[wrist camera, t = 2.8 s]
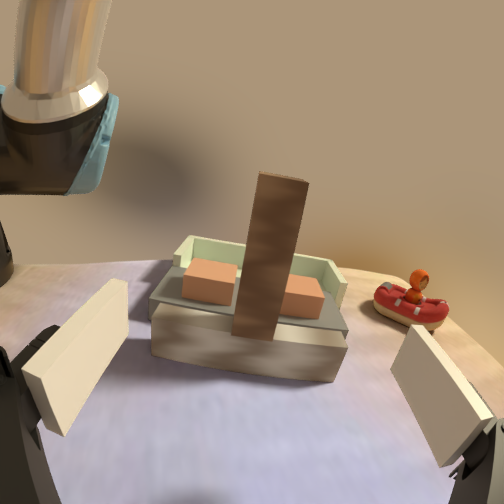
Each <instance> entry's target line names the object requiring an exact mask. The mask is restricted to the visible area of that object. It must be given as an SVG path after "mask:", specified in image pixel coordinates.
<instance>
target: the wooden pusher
mask: <svg viewBox="0 0 504 504" xmlns="http://www.w3.org/2000/svg"><path fill="white" fill-rule="evenodd" d="M308 186H309V183H308V182H306V181H304V180H302V179H298V178H293V177H288V176H283V175H278V174H272V173H267V172H261V171H259V176H258V181H257V187H256V193H255V198H254V204H253V209H252V215H251V220H250V226H249V232H248V237H247V243H246V248H245V254H244V260H243V266H242V271H241V277H240V283H239V289H238V294H237V300H236V306H235V312H234V317H232V316H226V315H221V314H215V313H210V312H204V311H199V310H194V309H188V308H183V307H178V306H173V305H169V304H164V303H160V304H159V306H158V307H157V309H156V310H155V312H154V314H153V315H152V317H151V355H152V356H157V357H161V358H165V359H170V360H174V361H179V362H183V363H188V364H193V365H198V366H204V367H209V368H215V369H220V370H226V371H233V372H239V373H246V374H253V375H260V376H268V377H277V378H286V379H296V380H308V381H321V382H334V380H335V377H336V375H337V373H338V371H339V368H340V366H341V364H342V361H343V359H344V356H345V354H346V352H347V349H348V346H347V344H346V341H345V339H344V337H343V334H342V332H341V331H332V330H323V329H315V328H307V327H299V326H291V325H284V324H277V322H278V318H279V314H280V310H281V306H282V302H283V298H284V294H285V290H286V286H287V281H288V277H289V273H290V269H291V264H292V260H293V256H294V251H295V247H296V242H297V238H298V233H299V229H300V224H301V220H302V215H303V210H304V205H305V200H306V196H307V191H308Z"/></svg>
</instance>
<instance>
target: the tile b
mask: <svg viewBox="0 0 504 504" xmlns="http://www.w3.org/2000/svg"><path fill="white" fill-rule="evenodd" d="M324 300H325V297H324V294H323V292H322V290H321V288H320V285H319V283H318V281H317V279H316V278H312V277H305V276H299V275H293V274H289V277H288V281H287V286H286V290H285V294H284V298H283V302H282V306H281V310H280V314H283V315H290V316H297V317H304V318H312V319H319V316H320V313H321V310H322V306H323V303H324Z"/></svg>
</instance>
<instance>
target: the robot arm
mask: <svg viewBox="0 0 504 504" xmlns="http://www.w3.org/2000/svg"><path fill="white" fill-rule="evenodd" d="M111 3H112V0H19V7H18V14H17V23H16V33H15V34H16V35H15V51H14V79H13V80H12V82H11V83H10V84H9V85H8V87H7V88H6V87H5V86H3V85H0V195H63V196H67V195H69V194H86V193H90V192H92V191H93V190H95V189H96V188H97V186H98V185H99V182H100V180H101V177H102V173H103V169H104V166H105V162H106V157H107V153H108V149H109V141H110V139H111V135H112V132H113V128H114V124H115V120H116V115H117V110H118V105H119V98H118V97H117V96H115V95H113V94H111V93H108V94H107V92H108V85H109V84H108V78H107V76H106V75H105V74H104V73H103V72H102V71H101V70H100V69H99V68H98V67H97V64H98V59H99V54H100V49H101V43H102V39H103V34H104V30H105V26H106V22H107V18H108V14H109V11H110V7H111ZM12 273H13V260H12V253H11V249H10V247H9V246H8V242H7V239H6V237H5V234H4V230H3V228H2V225H1V222H0V287H1V286H2V285H4V284H5V283H6V282H7V281H8V280H9V279H10V277H11V275H12ZM127 283H128V282H127V281H123V280H118V279H114V278H112V279H111V280H110V281H108V282H107V283H106V284H105V285H104V286H103V287H102V288H101V289H100V290H99V291H98V292H97V293H96V294H94V295H93V296H92V297H91V298H90V299H89V300H88V301H87V302H86V303H85V304H84V305H83V306H82V307H81V308H80V309H79V310H78V311H77V312H76V313H75V314H74V315H73V316H72V317H71V318H69V319H68V320H67V321H66V322H65V323H64V324H63V325H62V326H61V327H60V326H57V325H53V326H50V327H48V328H46V329H44V330H43V331H42V332H41V333H40V334H39V335H37V336H36V337H35V339H33V340H32V341H31V342H30V343H29V346H28V345H27V346H26V347H25V348H24V349H23V350H22V351H21V352H20V353H19V354H18V355H17V356H16V357H15V358H14V359H13V361H12V362H11V363H10V362H9V359H8V356H7V353H6V351H5V349H4V348H3V347H1V346H0V504H62V503H61V501H60V498H59V496H58V493H57V490H56V488H55V485H54V482H53V479H52V476H51V473H50V470H49V466H48V463H47V460H46V456H45V453H44V449H43V445H42V441H41V437H40V433H39V429H38V427H37V423H38V422H39V420H40V419H42V421H43V423H44V425H45V427H46V429H48V430H50V431H52V432H55V433H57V434H59V435H61V436H63V437H65V435H66V434H67V432H68V430H69V428H70V427H71V425H72V423H73V422H74V420H75V418H76V416H77V415H78V413H79V411H80V410H81V408H82V406H83V405H84V403H85V401H86V400H87V398H88V397H89V395H90V393H91V392H92V390H93V388H94V387H95V385H96V384H97V382H98V380H99V379H100V377H101V376H102V374H103V372H104V371H105V369H106V368H107V366H108V365H109V363H110V361H111V360H112V358H113V357H114V355H115V354H116V352H117V351H118V349H119V348H120V346H121V345H122V343H123V342H124V340H125V339H126V337H127V336H128V334H129V329H128V286H127ZM390 370H391V372H392V374H393V375H394V377H395V379H396V381H397V383H398V385H399V387H400V388H401V390H402V392H403V394H404V396H405V398H406V400H407V402H408V404H409V406H410V408H411V410H412V412H413V414H414V416H415V418H416V420H417V422H418V424H419V426H420V428H421V430H422V432H423V434H424V436H425V438H426V440H427V442H428V444H429V446H430V448H431V450H432V453H433V455H434V457H435V459H436V461H437V463H438V466H439V468H442V467H445V466H448V465H452V464H454V463H455V461H456V460H457V459H458V458H459V457H460V456H461V455H463V457H464V460H463V461H462V462H461V463H460V464H459V465H458V466H457V467H456V468H455V469H454V470H453V471H452V472H451V473H450V475H449V477H450V478H451V477H452V476H453V475H454V474H455V473H456V472H458V473H457V475H456V476H455V477H454V478H453V479H455V480H456V481H455V484H454V488H453V491H452V494H451V497H450V500H449V503H448V504H504V418H501V419H499V420H498V419H497V417H496V416H495V415H494V413H493V412H492V410H491V409H490V407H489V406H488V405H487V403H486V402H485V401H484V399H482V396H481V395H480V394H479V393H477V392H478V391H477V390H476V388H475V387H474V386H473V384H472V383H470V382H469V381H468V380H467V379H466V378H465V377H464V375H463V374H462V373H461V372H460V370H459V369H458V368H457V366H456V365H455V364H454V363H453V361H452V360H451V359H450V358H449V356H448V355H447V354H446V353H445V351H444V350H443V349H442V348H441V347H440V345H439V344H438V343H437V342H436V340H435V339H434V338H433V337H432V336H431V334H430V333H429V332H428V331H427V330H426V329H425V327H424V326H423V325H412V324H411V325H410V328H409V330H408V332H407V335H406V337H405V339H404V341H403V344H402V346H401V348H400V350H399V352H398V354H397V356H396V358H395V360H394V363H393V365H392V367H391V369H390Z"/></svg>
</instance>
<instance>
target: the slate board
mask: <svg viewBox="0 0 504 504" xmlns="http://www.w3.org/2000/svg"><path fill="white" fill-rule="evenodd" d="M186 270H187V268H183V267H178V266H173V265H172V267H171V268H170V270H169V271H168V272H167V274H166V275H165V276H164V278H163V279H162V280H161V282H160V283H159V284H158V286H157V287H156V289H155V290H154V291H153V293H152V294H151V295H150V297H149V306H148V320H151V317H152V315H153V314H154V312H155V310H156V309H157V307H158V306H159V304H160V303H164V304H169V305H173V306H178V307H183V308H188V309H194V310H199V311H204V312H210V313H215V314H221V315H226V316H232V317H234V312H235V306H236V300H237V294H238V289H239V283H240V278H239V277H236V280H235V286H234V291H233V297H232V303H231V306H226V305H221V304H215V303H210V302H204V301H199V300H194V299H188V298H183V297H182V286H183V275H184V273H185V271H186ZM322 292H323V294H324V297H325V300H324V303H323V306H322V310H321V313H320V316H319V319H312V318H304V317H297V316H290V315H283V314H279V318H278V322H277V324H284V325H291V326H299V327H307V328H315V329H323V330H332V331H341V332H342V334H343V337H344V339H346V336H347V333H348V331H349V330H348V328H347V326H346V323H345V321H344V319H343V317H342V315H341V313H340V311H339V309H338V307H337V305H336V303H335V301H334V299H333V297H332V295H331V293H330V292H326V291H322Z"/></svg>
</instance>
